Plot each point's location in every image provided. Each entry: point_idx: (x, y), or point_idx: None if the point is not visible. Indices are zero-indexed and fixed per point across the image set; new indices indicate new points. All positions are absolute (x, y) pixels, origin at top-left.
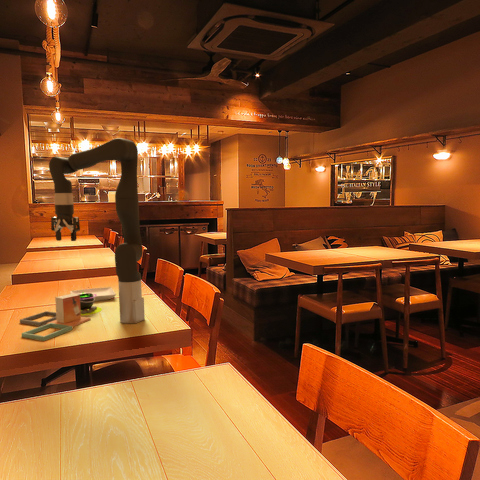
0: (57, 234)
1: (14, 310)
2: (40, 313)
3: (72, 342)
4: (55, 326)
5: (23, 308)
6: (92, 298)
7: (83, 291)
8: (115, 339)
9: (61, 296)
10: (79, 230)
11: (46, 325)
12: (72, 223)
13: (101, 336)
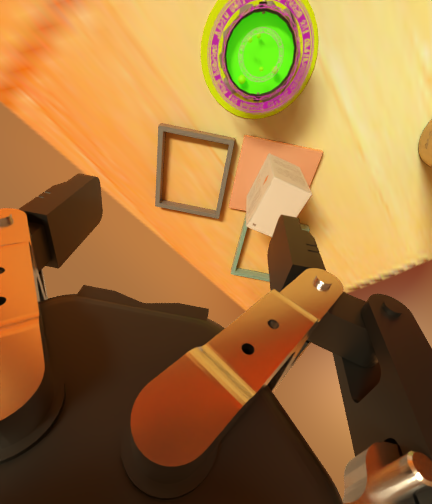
0: (72, 250)
1: (31, 99)
2: (161, 151)
3: (340, 280)
4: None
5: (32, 69)
6: (297, 52)
7: None
8: (424, 261)
9: (261, 220)
10: (394, 303)
11: (246, 230)
12: (270, 370)
13: (389, 251)
